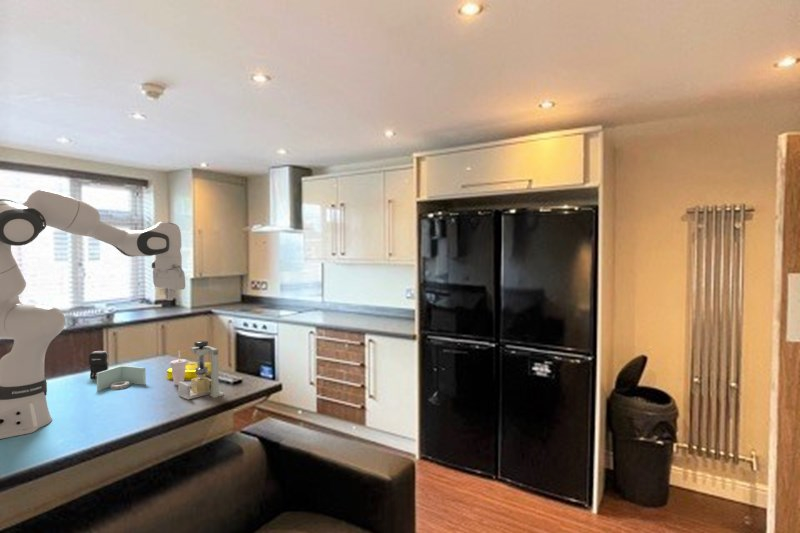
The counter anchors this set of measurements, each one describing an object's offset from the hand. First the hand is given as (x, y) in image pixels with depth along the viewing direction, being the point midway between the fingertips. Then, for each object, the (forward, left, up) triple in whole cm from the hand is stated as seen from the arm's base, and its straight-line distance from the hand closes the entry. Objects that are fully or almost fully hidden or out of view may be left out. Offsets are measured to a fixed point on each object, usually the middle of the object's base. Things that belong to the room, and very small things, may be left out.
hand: (169, 299), depth 173 cm
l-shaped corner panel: (-9, +24, -38) cm, 46 cm away
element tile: (+17, +20, -38) cm, 46 cm away
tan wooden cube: (+8, -8, -36) cm, 37 cm away
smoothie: (+8, +11, -37) cm, 40 cm away
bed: (+7, -8, -37) cm, 38 cm away
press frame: (+8, -8, -37) cm, 39 cm away
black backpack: (-11, +46, -37) cm, 60 cm away
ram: (+8, -8, -29) cm, 31 cm away
